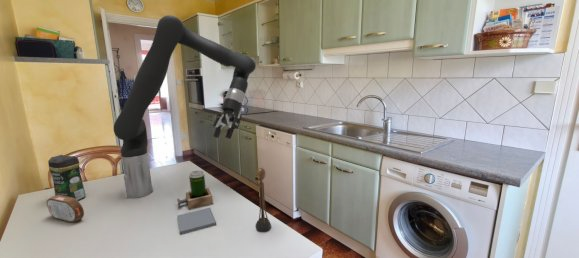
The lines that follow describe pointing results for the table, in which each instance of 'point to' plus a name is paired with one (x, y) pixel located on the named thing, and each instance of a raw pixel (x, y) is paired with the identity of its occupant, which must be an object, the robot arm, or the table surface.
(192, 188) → the beer can
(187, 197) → the light wood square frame
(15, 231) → the table surface
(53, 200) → the tin
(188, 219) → the slate mat
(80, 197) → the coffee jar
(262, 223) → the wooden tabletop sculpture
